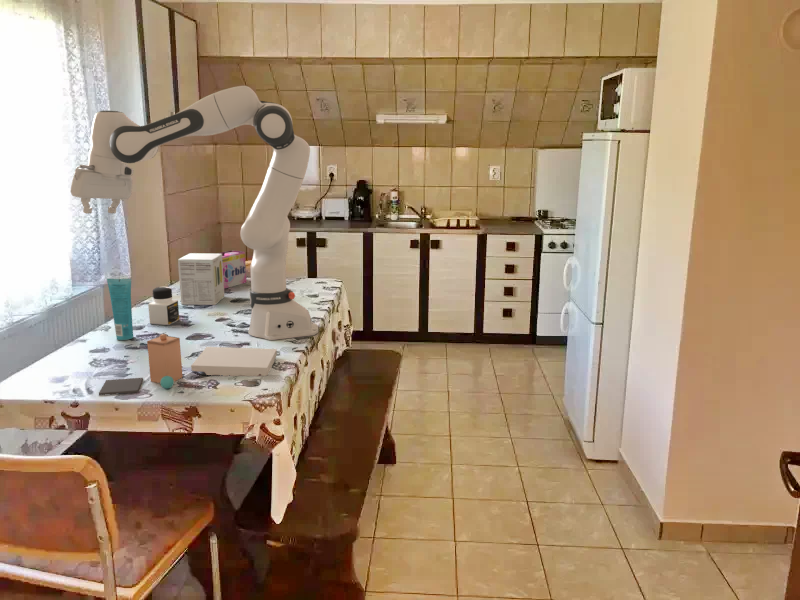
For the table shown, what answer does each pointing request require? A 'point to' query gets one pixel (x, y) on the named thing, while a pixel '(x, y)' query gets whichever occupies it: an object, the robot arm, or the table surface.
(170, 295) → the medicine bottle
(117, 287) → the tube
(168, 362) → the tan box with knob
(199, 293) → the supplement box
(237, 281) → the gum box
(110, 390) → the mat
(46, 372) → the table surface
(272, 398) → the table surface
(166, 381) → the ball
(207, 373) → the cream flat block
